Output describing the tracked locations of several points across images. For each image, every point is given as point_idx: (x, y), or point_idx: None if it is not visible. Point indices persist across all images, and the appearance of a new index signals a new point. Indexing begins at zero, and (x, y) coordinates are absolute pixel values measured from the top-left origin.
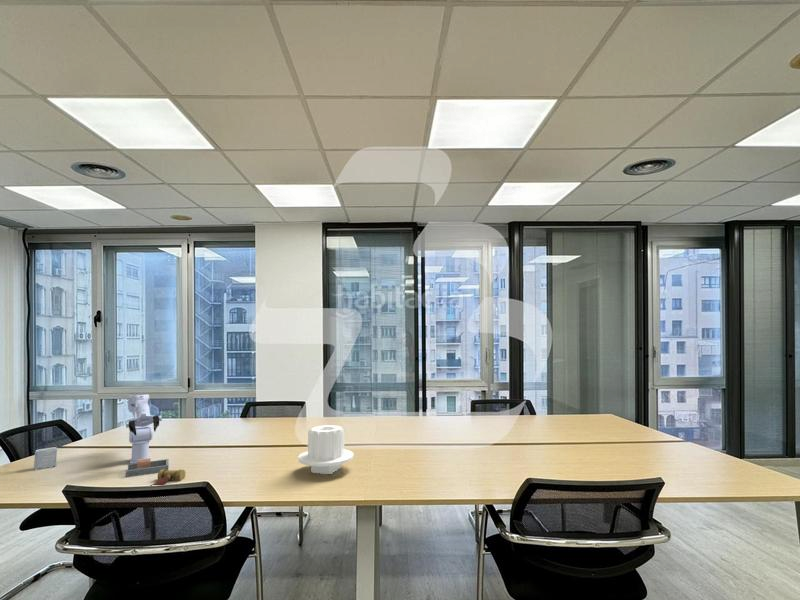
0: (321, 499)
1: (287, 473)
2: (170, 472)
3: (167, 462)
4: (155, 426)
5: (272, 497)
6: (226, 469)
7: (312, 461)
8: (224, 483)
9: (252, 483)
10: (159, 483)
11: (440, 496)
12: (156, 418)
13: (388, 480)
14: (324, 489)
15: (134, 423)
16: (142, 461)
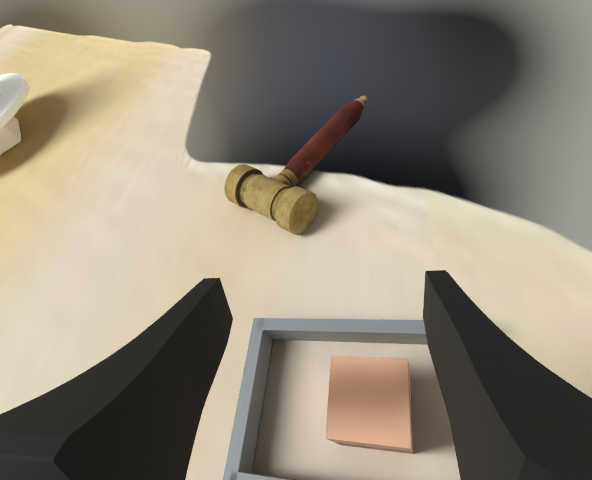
0: (113, 39)
1: (48, 150)
2: (270, 180)
3: (245, 388)
4: (190, 294)
5: (152, 52)
6: (107, 239)
7: (13, 86)
8: (173, 129)
9: (133, 114)
10: (317, 132)
11: (31, 32)
12: (63, 392)
13: None
14: (81, 67)
15: (498, 393)
16: (376, 363)
